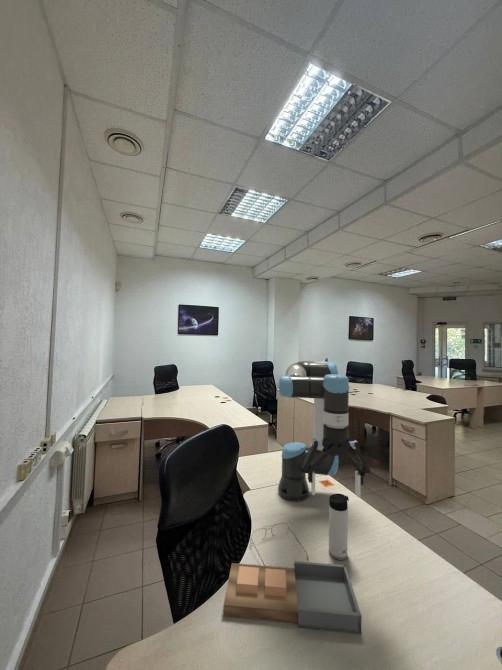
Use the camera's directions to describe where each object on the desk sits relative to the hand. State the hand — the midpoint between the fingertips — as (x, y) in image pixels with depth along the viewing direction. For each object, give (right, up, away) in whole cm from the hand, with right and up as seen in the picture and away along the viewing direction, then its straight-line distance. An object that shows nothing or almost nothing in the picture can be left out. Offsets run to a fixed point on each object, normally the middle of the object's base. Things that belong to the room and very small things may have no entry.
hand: (335, 493), depth 85 cm
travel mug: (+5, -28, +12) cm, 31 cm away
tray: (-5, -28, -6) cm, 29 cm away
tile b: (-19, -24, -5) cm, 31 cm away
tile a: (-27, -24, -4) cm, 37 cm away
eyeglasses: (-17, -28, +13) cm, 35 cm away
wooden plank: (-23, -27, -5) cm, 36 cm away
